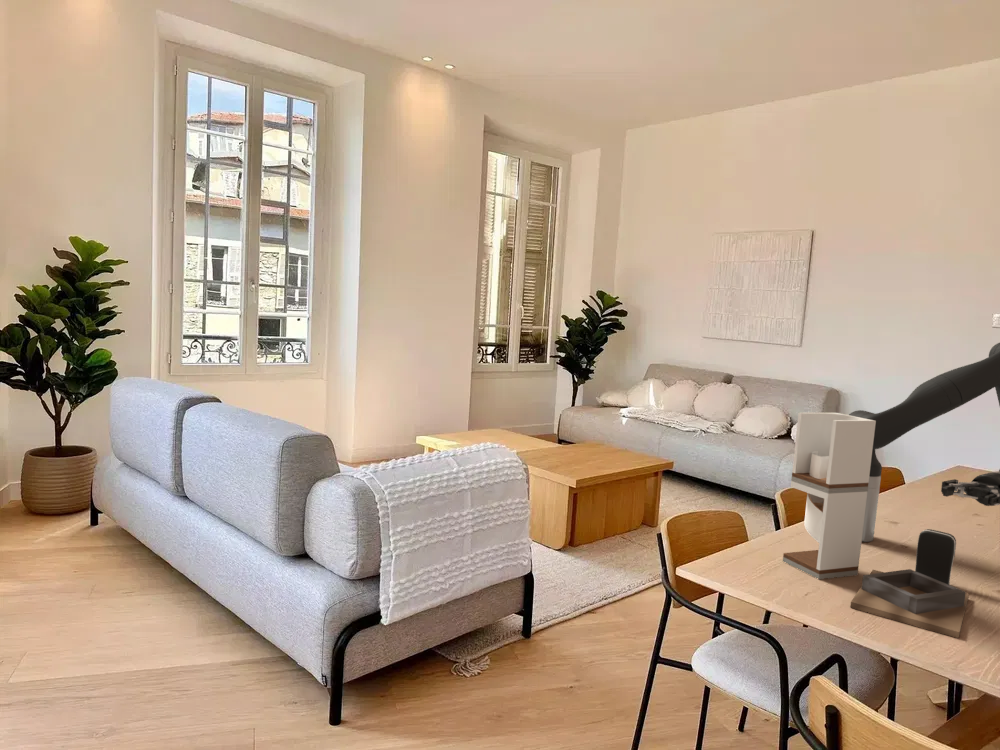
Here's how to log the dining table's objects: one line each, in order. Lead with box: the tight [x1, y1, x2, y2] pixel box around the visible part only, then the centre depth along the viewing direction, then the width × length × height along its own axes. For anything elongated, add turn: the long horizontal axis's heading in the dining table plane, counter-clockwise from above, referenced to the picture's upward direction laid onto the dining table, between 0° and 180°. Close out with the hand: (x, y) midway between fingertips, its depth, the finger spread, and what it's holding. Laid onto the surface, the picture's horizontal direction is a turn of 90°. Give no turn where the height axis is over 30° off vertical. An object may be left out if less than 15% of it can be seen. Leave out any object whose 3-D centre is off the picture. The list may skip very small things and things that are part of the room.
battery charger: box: [914, 528, 957, 586], centre depth 154 cm, size 7×4×11 cm, turn 48°
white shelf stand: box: [782, 412, 876, 580], centre depth 157 cm, size 11×11×35 cm
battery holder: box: [849, 568, 970, 639], centre depth 141 cm, size 18×24×4 cm
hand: (965, 496), depth 159 cm, fingers open, 8 cm apart
